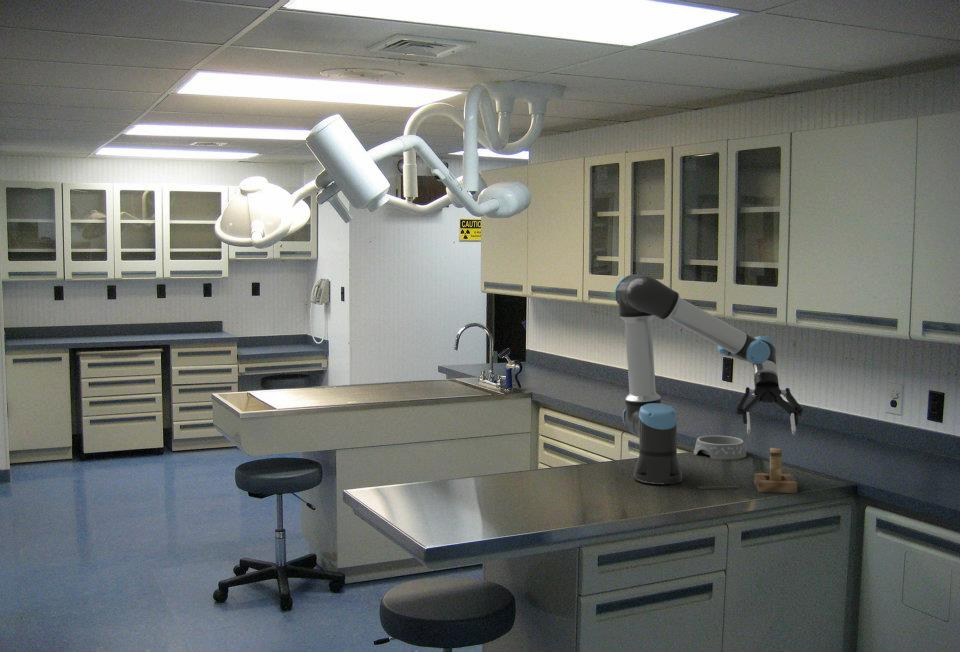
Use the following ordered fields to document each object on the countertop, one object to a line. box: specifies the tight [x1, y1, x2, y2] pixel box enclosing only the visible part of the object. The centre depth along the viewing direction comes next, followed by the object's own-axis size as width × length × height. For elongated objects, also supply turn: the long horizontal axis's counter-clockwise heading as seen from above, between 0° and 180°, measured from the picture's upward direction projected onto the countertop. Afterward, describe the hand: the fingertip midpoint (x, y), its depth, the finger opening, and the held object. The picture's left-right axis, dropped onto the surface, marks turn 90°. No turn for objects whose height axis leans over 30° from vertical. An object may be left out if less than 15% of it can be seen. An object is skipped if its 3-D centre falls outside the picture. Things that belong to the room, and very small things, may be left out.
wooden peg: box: [769, 447, 783, 481], centre depth 278 cm, size 3×3×12 cm
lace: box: [698, 485, 739, 490], centre depth 278 cm, size 12×1×1 cm, turn 90°
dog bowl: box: [693, 434, 747, 461], centre depth 324 cm, size 17×18×5 cm
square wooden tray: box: [753, 472, 798, 494], centre depth 278 cm, size 11×11×3 cm
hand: (771, 432), depth 286 cm, fingers open, 13 cm apart
